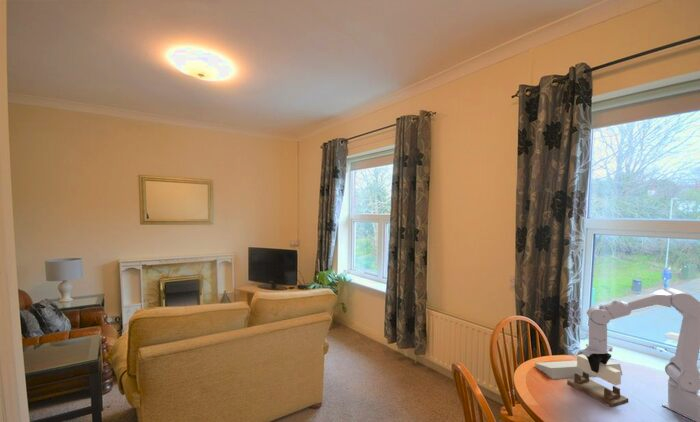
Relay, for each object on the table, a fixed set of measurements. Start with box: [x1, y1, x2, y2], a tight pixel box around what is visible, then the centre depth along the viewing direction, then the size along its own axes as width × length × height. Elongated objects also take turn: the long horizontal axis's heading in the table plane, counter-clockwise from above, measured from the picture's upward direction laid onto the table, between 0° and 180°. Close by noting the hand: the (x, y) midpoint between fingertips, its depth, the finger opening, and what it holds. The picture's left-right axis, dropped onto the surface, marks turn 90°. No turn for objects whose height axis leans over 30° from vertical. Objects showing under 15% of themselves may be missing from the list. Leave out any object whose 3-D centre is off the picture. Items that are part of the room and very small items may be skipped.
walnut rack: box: [566, 371, 629, 408], centre depth 118 cm, size 16×10×4 cm, turn 18°
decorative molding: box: [534, 360, 623, 380], centre depth 134 cm, size 34×5×10 cm
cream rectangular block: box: [576, 353, 622, 387], centre depth 119 cm, size 14×3×5 cm, turn 18°
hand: (597, 370), depth 119 cm, fingers closed on cream rectangular block, 3 cm apart
